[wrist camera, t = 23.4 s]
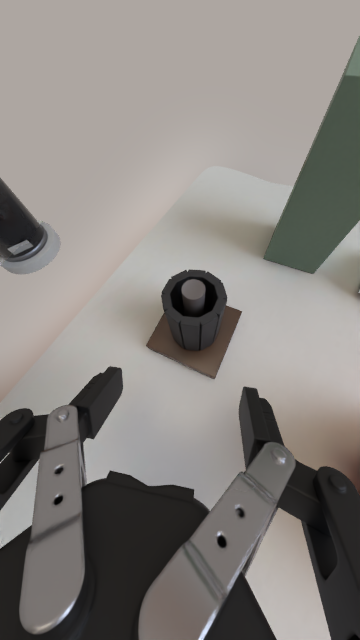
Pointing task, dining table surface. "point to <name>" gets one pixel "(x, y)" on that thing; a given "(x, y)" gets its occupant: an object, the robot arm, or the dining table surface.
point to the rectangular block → (325, 183)
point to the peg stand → (202, 359)
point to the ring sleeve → (193, 329)
